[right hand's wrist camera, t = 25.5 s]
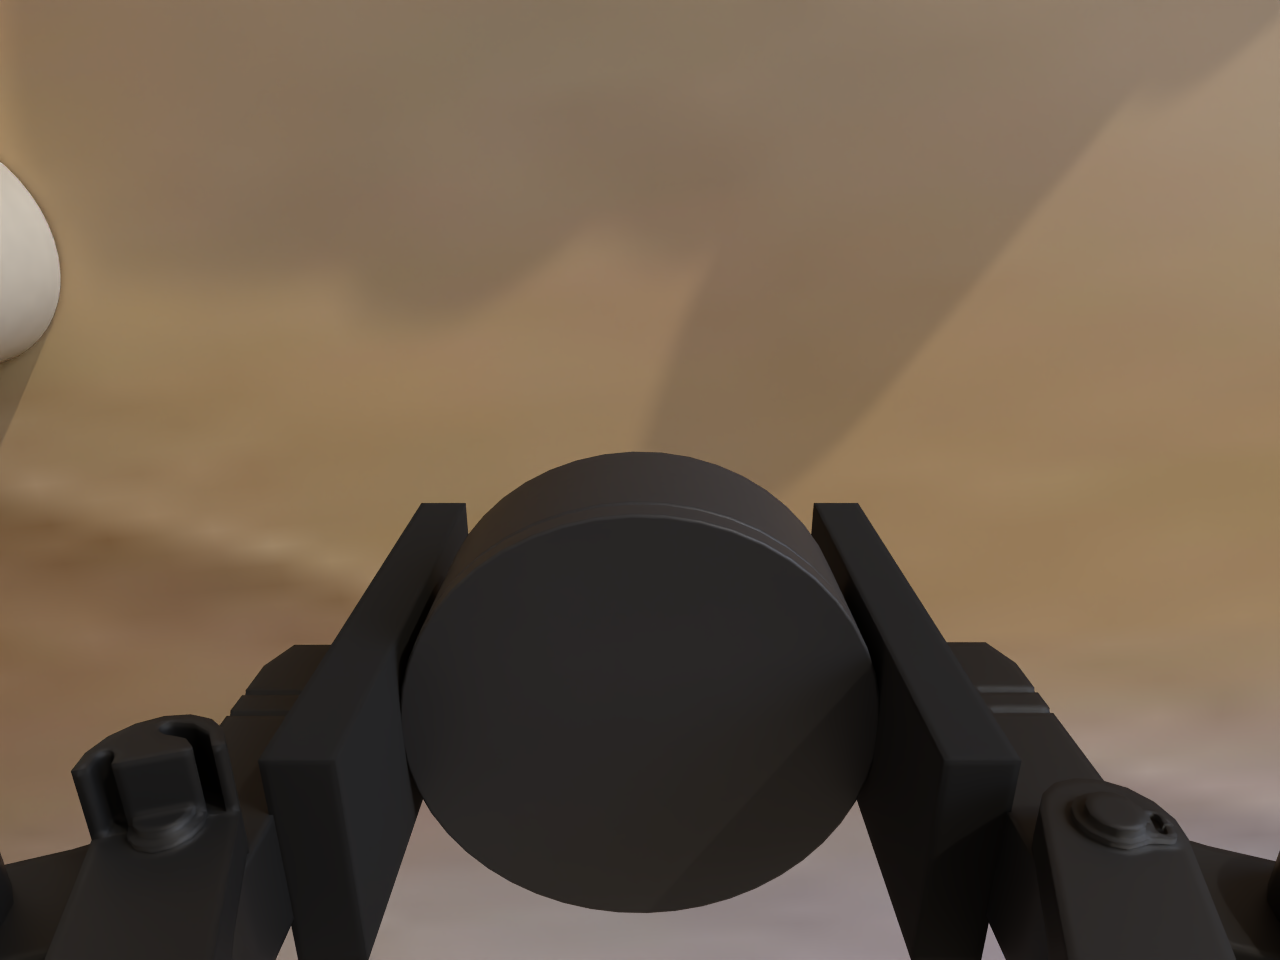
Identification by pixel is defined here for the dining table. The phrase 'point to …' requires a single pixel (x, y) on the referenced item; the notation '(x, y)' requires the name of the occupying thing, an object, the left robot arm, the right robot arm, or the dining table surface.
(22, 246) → the jar
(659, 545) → the lid
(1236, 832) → the dining table surface
